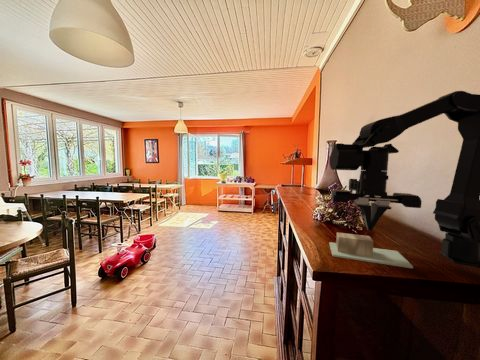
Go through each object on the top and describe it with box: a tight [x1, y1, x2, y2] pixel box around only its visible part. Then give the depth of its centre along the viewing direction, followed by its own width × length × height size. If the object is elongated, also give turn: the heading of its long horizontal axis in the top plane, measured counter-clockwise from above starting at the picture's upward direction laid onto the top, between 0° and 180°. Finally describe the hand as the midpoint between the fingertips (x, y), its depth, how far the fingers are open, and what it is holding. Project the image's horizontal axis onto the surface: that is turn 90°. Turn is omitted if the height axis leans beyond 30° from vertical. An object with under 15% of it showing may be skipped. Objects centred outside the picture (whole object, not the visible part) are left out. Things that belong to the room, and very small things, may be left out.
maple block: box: [335, 232, 374, 256], centre depth 54 cm, size 4×4×8 cm
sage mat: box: [328, 241, 414, 269], centre depth 53 cm, size 17×9×1 cm, turn 71°
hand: (369, 230), depth 52 cm, fingers closed
